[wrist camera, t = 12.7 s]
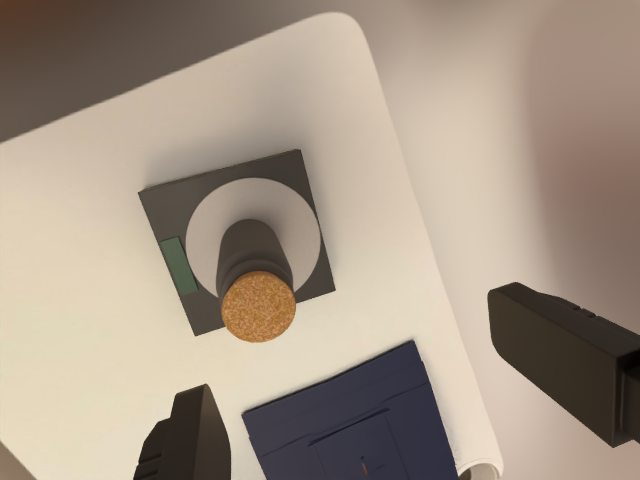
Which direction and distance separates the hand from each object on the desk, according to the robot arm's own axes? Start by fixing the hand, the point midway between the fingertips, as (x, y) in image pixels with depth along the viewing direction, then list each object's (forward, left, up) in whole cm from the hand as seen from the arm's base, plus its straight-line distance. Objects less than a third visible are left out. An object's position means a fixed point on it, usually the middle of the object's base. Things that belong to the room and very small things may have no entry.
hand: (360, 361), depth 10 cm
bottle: (+4, -3, -29) cm, 29 cm away
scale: (+4, -3, -32) cm, 32 cm away
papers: (+39, +3, -32) cm, 50 cm away
